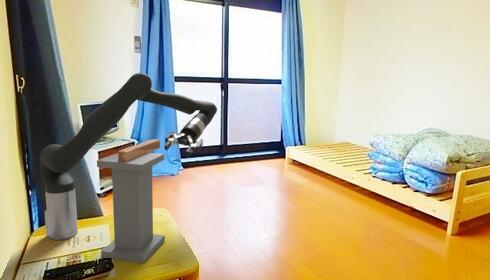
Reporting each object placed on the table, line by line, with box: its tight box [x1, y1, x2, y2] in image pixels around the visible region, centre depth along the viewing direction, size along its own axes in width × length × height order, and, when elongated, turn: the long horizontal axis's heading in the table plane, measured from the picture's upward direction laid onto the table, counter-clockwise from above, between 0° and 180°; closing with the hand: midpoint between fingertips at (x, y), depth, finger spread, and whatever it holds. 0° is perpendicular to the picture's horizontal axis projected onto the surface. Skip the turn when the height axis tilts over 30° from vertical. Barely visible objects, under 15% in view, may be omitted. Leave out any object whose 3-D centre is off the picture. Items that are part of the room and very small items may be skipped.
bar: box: [117, 138, 161, 161], centre depth 108 cm, size 3×22×3 cm, turn 169°
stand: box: [96, 152, 166, 264], centre depth 105 cm, size 15×15×32 cm
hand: (176, 151), depth 119 cm, fingers open, 8 cm apart
